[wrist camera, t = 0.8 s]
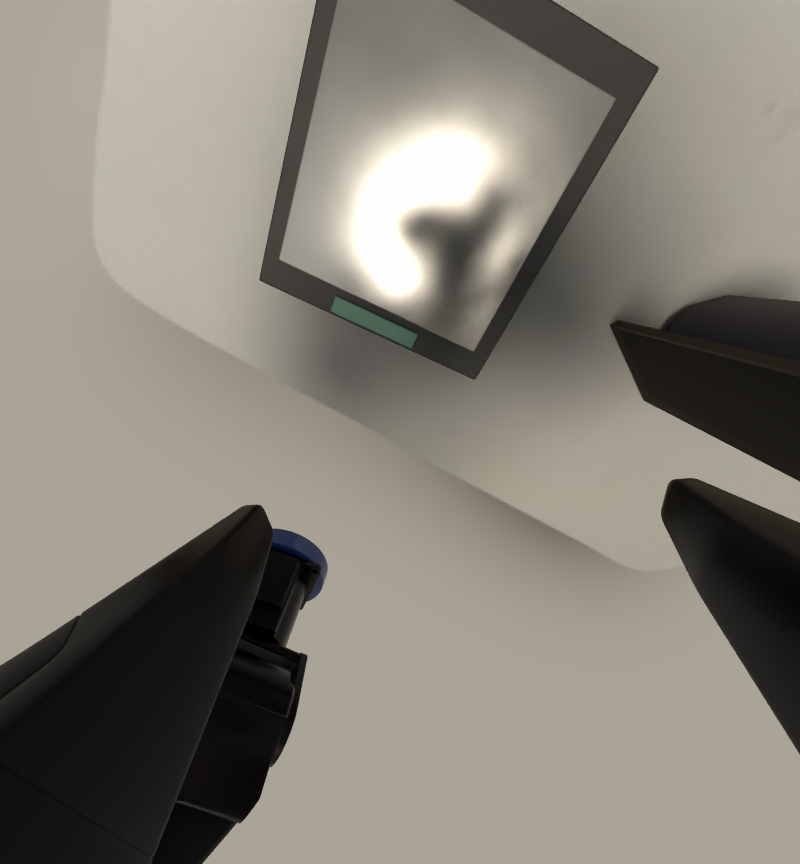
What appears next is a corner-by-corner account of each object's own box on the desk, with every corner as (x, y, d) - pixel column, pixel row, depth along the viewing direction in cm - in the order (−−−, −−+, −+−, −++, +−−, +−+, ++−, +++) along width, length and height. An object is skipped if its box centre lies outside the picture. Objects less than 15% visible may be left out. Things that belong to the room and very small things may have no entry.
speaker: (611, 418, 21) (775, 541, 12) (609, 321, 19) (812, 379, 9) (749, 386, 20) (1049, 493, 11) (765, 280, 18) (1169, 298, 8)
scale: (471, 366, 21) (476, 386, 18) (276, 275, 19) (250, 282, 17) (631, 88, 14) (674, 57, 12) (356, -80, 13) (335, -158, 10)
